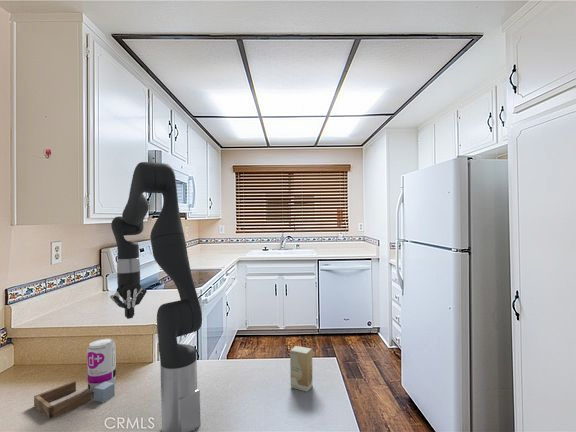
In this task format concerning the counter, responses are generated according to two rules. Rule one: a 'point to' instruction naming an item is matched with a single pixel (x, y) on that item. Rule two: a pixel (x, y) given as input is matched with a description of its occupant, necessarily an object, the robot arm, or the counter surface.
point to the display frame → (65, 405)
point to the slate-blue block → (104, 391)
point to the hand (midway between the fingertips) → (129, 317)
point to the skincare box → (301, 368)
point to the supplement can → (101, 363)
